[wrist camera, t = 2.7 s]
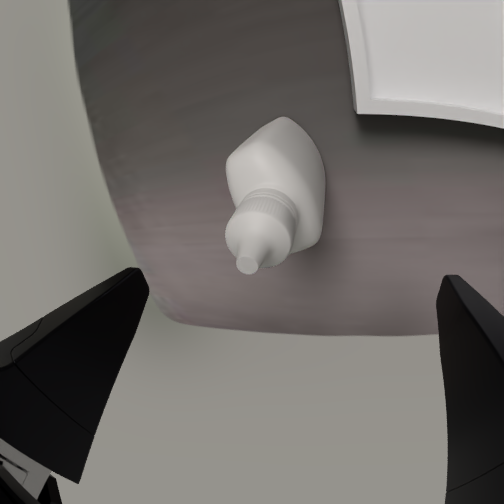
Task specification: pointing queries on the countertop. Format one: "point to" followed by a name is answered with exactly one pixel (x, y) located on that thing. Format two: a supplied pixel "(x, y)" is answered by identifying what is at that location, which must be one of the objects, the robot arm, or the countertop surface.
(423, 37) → the tray
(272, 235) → the eye dropper bottle
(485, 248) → the countertop surface
